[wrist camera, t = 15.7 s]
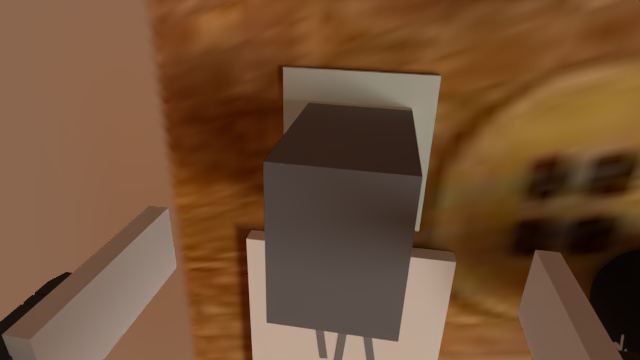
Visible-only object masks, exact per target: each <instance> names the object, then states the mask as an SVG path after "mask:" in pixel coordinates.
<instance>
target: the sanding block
mask: <svg viewBox="0 0 640 360" xmlns="http://www.w3.org/2000/svg"><path fill="white" fill-rule="evenodd" d="M422 178H423V176H422V169H421V163H420V156H419V150H418V143H417V137H416V130H415V124H414V117H413V111H412V108H402V107H388V106H375V105H361V104H348V103H334V102H321V101H309V103H308V104H307V105H306V107H305V108H304V109H303V110H302V112H301V113H300V114H299V116H298V117H297V118H296V120H295V121H294V122H293V123H292V125H291V126H290V127H289V129H288V130H287V131H286V133H285V134H284V135H283V136H282V138H281V139H280V140H279V142H278V143H277V144H276V146H275V147H274V148H273V149H272V151H271V152H270V153H269V155H268V156H267V157H266V159H265V160H264V161H263V182H264V228H265V273H266V319H267V323H272V324H279V325H286V326H292V327H299V328H306V329H313V330H320V331H327V332H334V333H341V334H347V335H354V336H361V337H368V338H375V339H382V340H389V341H396V342H398V339H399V333H400V326H401V319H402V312H403V306H404V299H405V292H406V286H407V279H408V272H409V265H410V259H411V252H412V245H413V239H414V232H415V225H416V218H417V212H418V205H419V198H420V191H421V185H422Z"/></svg>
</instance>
